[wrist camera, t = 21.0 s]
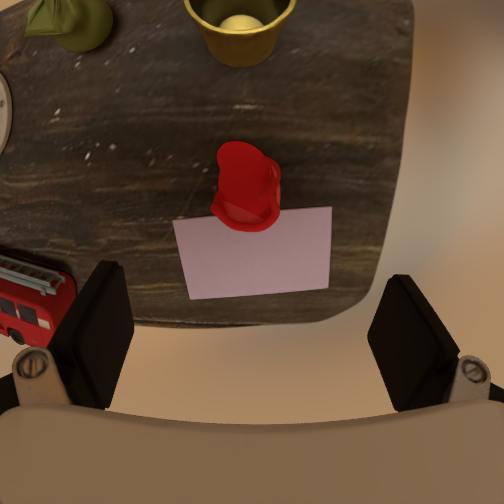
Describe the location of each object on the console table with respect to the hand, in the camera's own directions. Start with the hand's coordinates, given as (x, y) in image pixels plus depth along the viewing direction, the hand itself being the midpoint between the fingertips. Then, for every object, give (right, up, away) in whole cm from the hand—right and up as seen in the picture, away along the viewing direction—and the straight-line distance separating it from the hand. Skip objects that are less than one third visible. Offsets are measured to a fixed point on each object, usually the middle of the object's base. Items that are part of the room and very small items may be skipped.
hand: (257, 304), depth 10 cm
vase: (-1, +21, +12) cm, 24 cm away
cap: (0, +5, +14) cm, 15 cm away
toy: (-34, -8, +22) cm, 42 cm away
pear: (-15, +23, +10) cm, 29 cm away
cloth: (0, +1, +23) cm, 23 cm away
